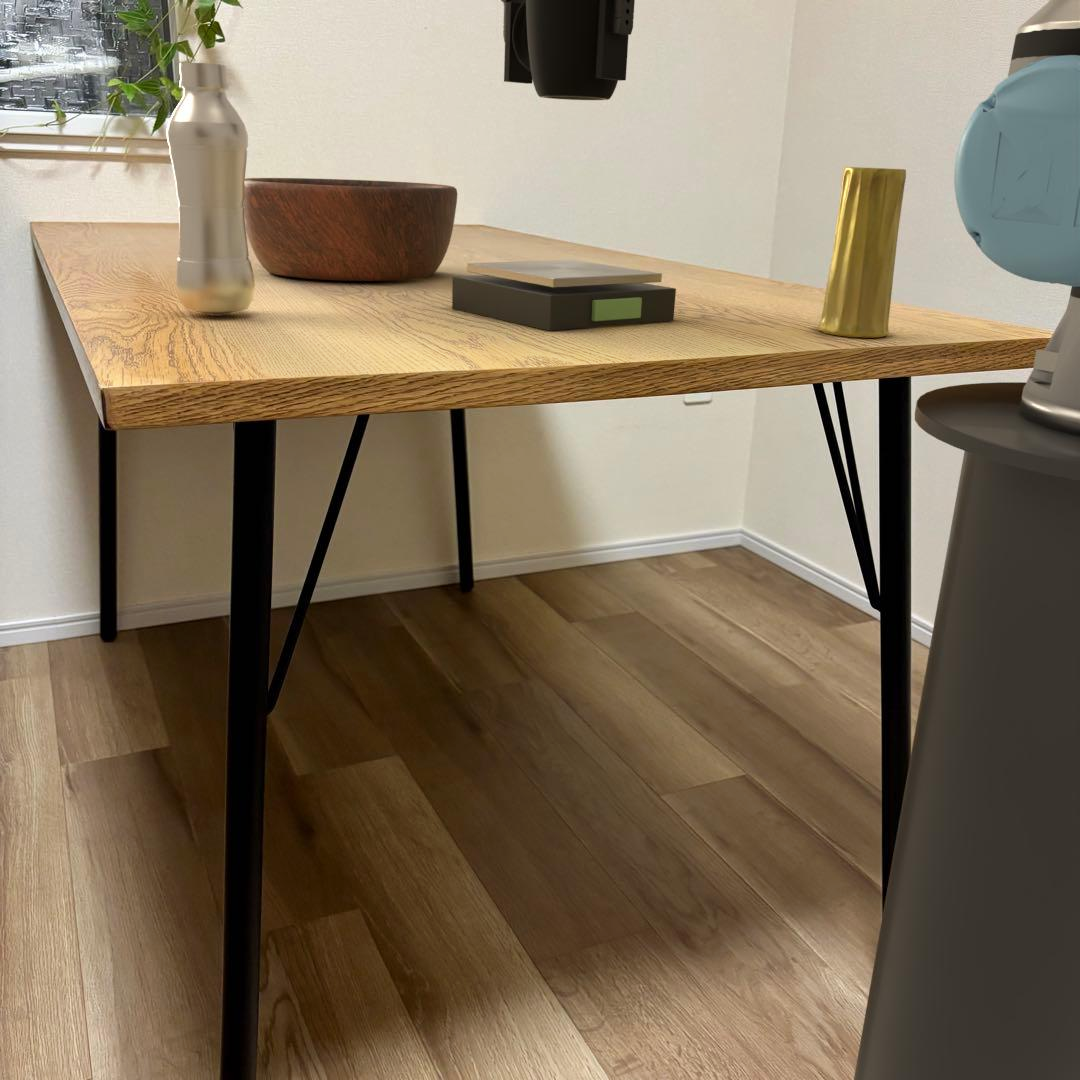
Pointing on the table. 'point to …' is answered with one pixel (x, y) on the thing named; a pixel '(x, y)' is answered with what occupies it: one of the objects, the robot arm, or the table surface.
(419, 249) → the wooden bowl
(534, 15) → the mug
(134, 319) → the table surface
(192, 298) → the silver bottle
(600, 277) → the scale pan
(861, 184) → the vase
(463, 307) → the scale
